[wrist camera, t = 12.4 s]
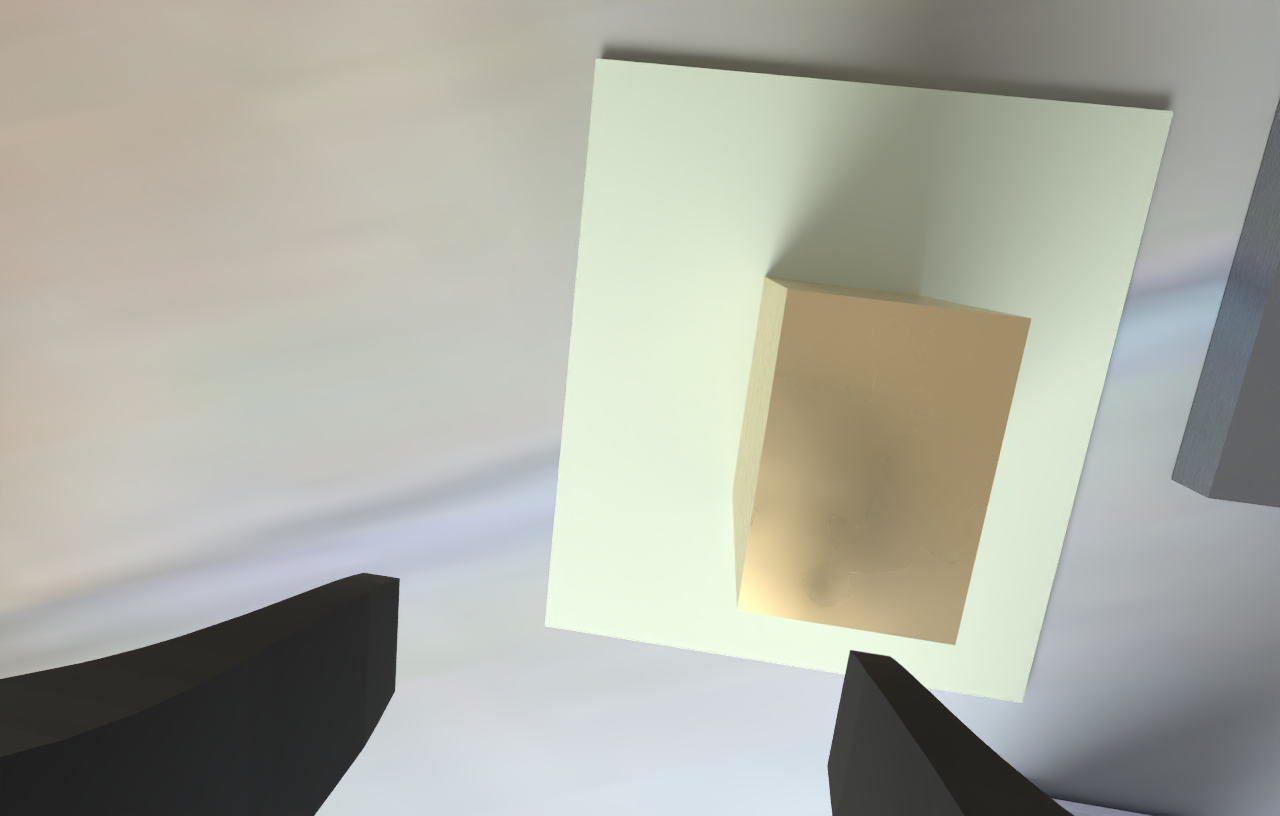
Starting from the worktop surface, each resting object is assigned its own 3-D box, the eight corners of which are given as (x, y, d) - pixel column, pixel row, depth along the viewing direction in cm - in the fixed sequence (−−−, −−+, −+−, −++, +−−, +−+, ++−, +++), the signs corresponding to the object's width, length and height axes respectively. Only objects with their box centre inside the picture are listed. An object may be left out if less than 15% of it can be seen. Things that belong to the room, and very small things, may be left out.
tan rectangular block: (876, 512, 20) (955, 645, 13) (732, 491, 20) (737, 610, 14) (919, 295, 19) (1031, 318, 12) (764, 276, 19) (787, 288, 12)
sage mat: (1016, 694, 21) (1022, 703, 21) (547, 619, 22) (544, 626, 22) (1163, 114, 18) (1174, 111, 17) (598, 62, 19) (595, 58, 18)
